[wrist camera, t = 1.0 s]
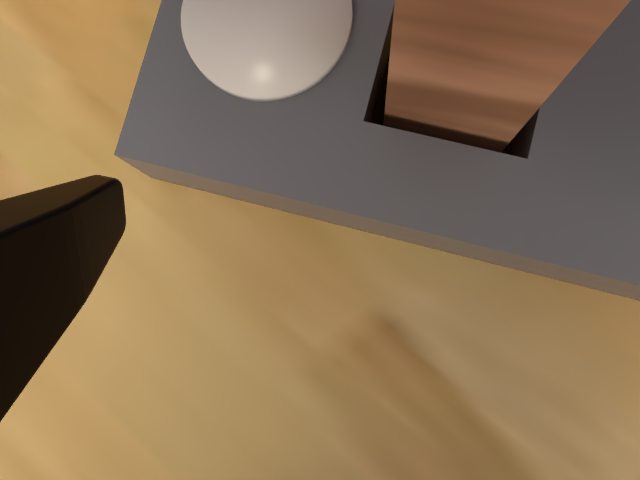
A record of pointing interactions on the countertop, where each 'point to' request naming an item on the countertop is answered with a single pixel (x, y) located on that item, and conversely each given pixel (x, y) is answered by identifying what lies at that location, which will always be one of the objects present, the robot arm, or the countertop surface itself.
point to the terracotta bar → (484, 63)
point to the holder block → (390, 138)
